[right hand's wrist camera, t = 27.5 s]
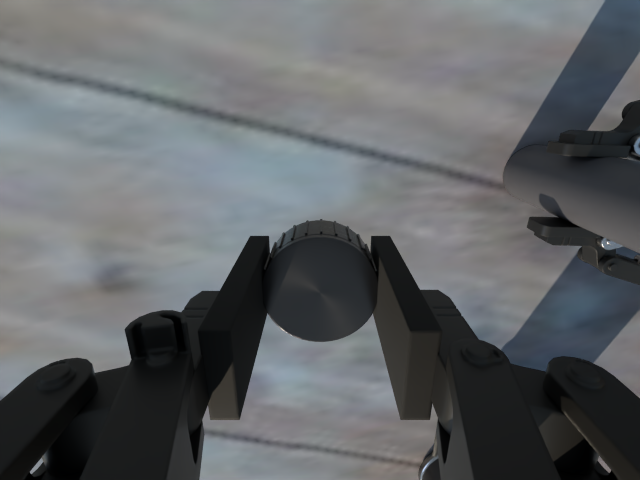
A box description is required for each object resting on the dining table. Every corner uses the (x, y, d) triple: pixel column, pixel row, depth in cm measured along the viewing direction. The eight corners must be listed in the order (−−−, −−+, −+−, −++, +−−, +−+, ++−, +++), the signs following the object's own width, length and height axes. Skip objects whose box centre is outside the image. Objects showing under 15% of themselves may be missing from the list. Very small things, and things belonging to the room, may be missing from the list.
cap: (255, 297, 15) (245, 325, 13) (285, 203, 14) (279, 218, 12) (350, 325, 15) (354, 356, 14) (389, 238, 14) (400, 258, 12)
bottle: (494, 163, 28) (852, 273, 9) (548, 133, 27) (1056, 189, 9) (513, 208, 29) (859, 385, 11) (564, 182, 29) (1036, 321, 10)
